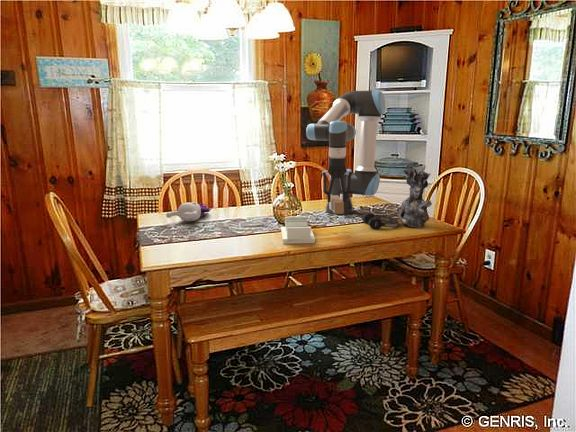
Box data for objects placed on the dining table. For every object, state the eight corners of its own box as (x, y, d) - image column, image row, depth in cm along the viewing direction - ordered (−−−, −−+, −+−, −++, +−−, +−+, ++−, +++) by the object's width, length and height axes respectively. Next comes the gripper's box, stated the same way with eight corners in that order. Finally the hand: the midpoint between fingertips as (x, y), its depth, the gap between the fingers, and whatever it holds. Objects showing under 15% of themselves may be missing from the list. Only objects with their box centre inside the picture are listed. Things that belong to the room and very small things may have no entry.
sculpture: (415, 231, 208) (420, 168, 201) (392, 223, 221) (396, 164, 213) (435, 226, 216) (441, 165, 208) (412, 219, 228) (416, 162, 220)
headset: (356, 203, 221) (394, 206, 224) (353, 221, 223) (390, 224, 227) (365, 209, 208) (405, 212, 212) (362, 229, 210) (401, 231, 214)
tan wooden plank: (329, 205, 206) (329, 195, 205) (337, 205, 206) (337, 195, 205) (334, 213, 192) (334, 202, 190) (343, 213, 192) (343, 202, 191)
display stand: (281, 230, 209) (280, 216, 207) (310, 230, 210) (310, 216, 208) (282, 243, 191) (282, 228, 189) (315, 243, 192) (315, 227, 190)
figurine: (220, 201, 238) (189, 203, 210) (220, 219, 239) (190, 223, 211) (195, 201, 244) (161, 203, 216) (195, 218, 245) (162, 223, 217)
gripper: (319, 158, 189) (318, 211, 195) (358, 157, 190) (356, 210, 196) (316, 156, 196) (316, 207, 202) (354, 155, 197) (353, 206, 203)
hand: (335, 208), depth 199 cm, fingers closed on tan wooden plank, 4 cm apart
